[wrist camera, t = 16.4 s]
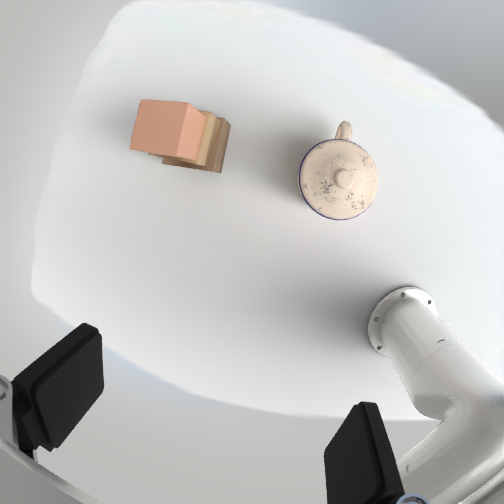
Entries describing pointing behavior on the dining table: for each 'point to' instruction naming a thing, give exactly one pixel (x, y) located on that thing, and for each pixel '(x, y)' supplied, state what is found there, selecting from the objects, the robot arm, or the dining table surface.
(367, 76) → the dining table surface
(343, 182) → the teacup with lid
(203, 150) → the block
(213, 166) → the tower base
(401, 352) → the robot arm
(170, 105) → the terracotta block
